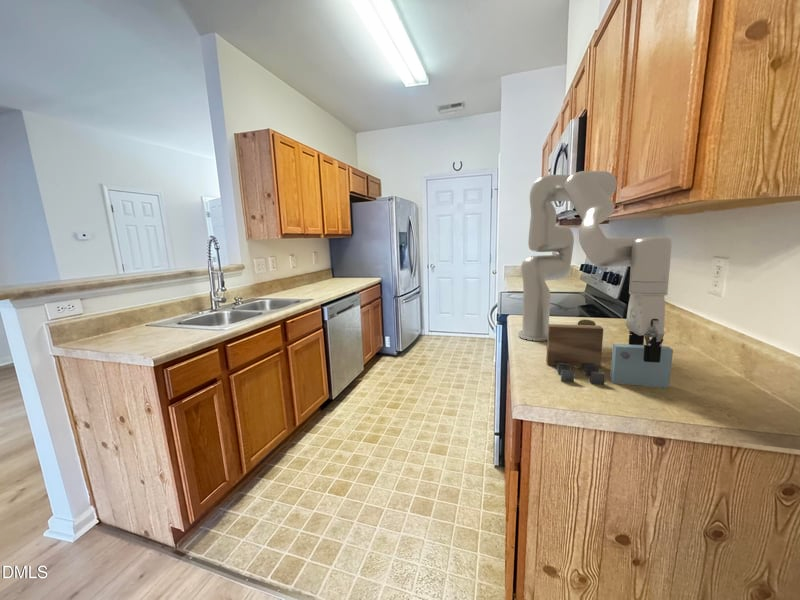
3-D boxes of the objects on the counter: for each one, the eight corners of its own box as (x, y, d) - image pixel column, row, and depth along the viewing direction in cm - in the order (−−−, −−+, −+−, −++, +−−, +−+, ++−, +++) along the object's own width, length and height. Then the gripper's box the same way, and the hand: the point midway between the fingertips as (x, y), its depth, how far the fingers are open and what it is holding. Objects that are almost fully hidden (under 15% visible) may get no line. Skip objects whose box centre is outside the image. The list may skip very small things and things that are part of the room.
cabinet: (546, 361, 100) (547, 323, 98) (597, 364, 96) (599, 325, 94) (547, 365, 97) (549, 326, 95) (600, 368, 93) (603, 328, 91)
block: (610, 379, 86) (613, 343, 84) (664, 383, 82) (668, 346, 80) (614, 385, 82) (617, 348, 81) (671, 390, 79) (675, 351, 77)
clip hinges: (555, 365, 96) (555, 356, 96) (592, 368, 93) (593, 358, 93) (561, 381, 86) (561, 370, 85) (604, 384, 83) (605, 373, 82)
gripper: (618, 284, 88) (614, 344, 90) (644, 292, 71) (639, 366, 74) (651, 284, 85) (646, 346, 88) (685, 292, 69) (678, 368, 72)
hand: (643, 355), depth 81 cm, fingers open, 9 cm apart
